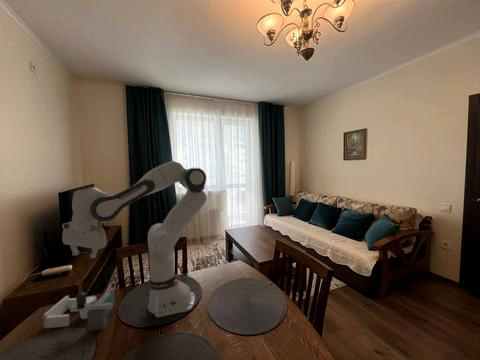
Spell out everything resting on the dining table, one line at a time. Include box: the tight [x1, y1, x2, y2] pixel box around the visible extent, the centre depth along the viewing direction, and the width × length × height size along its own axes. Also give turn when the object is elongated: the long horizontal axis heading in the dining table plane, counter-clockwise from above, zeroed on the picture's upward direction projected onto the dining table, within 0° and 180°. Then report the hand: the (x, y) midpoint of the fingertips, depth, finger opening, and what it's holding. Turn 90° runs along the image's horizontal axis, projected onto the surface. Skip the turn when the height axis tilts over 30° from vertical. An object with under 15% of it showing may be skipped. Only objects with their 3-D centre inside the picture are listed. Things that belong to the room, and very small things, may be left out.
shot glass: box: [79, 295, 98, 320], centre depth 97 cm, size 7×7×7 cm
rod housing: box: [87, 309, 109, 332], centre depth 89 cm, size 6×3×8 cm, turn 96°
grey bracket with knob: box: [69, 289, 116, 317], centre depth 94 cm, size 16×15×15 cm
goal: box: [43, 295, 77, 329], centre depth 96 cm, size 9×13×6 cm
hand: (84, 256), depth 91 cm, fingers open, 8 cm apart
